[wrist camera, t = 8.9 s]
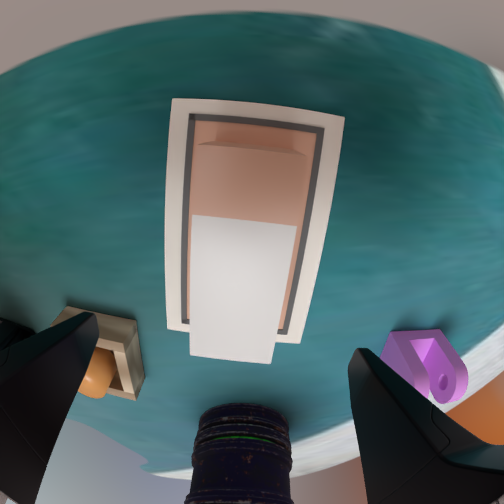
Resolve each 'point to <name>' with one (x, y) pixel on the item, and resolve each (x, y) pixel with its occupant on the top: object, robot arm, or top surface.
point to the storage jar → (241, 457)
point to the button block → (117, 350)
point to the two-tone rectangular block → (241, 246)
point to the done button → (99, 373)
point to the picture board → (259, 133)
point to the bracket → (427, 363)
